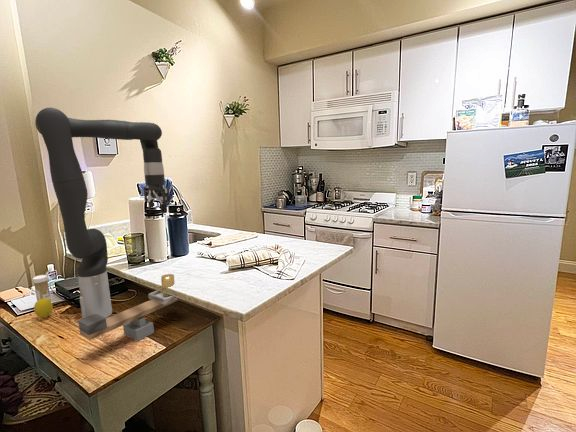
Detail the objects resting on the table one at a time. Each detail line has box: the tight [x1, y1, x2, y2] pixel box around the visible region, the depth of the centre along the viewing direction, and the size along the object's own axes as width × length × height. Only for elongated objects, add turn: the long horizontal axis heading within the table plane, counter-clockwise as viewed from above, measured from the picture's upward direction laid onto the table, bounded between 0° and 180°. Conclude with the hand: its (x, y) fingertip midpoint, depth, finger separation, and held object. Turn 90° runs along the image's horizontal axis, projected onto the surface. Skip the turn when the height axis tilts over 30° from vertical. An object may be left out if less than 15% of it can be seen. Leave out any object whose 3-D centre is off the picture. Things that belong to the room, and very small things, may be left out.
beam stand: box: [122, 316, 155, 342], centre depth 105 cm, size 6×8×6 cm
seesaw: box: [77, 289, 180, 341], centre depth 104 cm, size 33×9×4 cm, turn 146°
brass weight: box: [160, 273, 175, 297], centre depth 113 cm, size 4×4×7 cm
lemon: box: [33, 298, 54, 319], centre depth 116 cm, size 6×6×8 cm
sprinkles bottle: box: [32, 274, 52, 302], centre depth 124 cm, size 5×5×13 cm
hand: (158, 212), depth 131 cm, fingers open, 8 cm apart
